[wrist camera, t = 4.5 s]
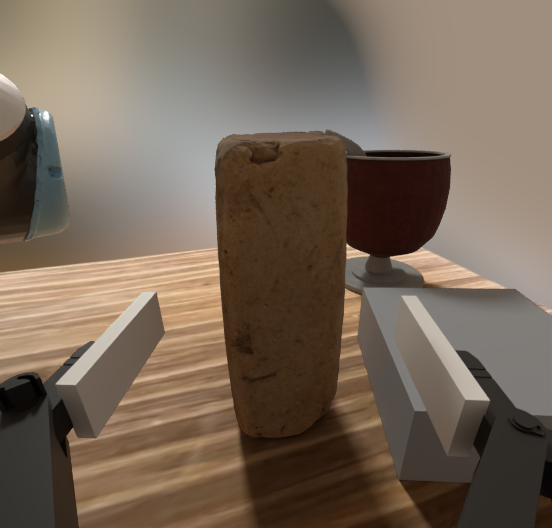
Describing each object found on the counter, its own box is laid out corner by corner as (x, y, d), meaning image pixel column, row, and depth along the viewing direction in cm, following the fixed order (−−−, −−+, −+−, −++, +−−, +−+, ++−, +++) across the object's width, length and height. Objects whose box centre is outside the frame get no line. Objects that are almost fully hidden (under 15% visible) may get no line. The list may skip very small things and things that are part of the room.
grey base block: (398, 479, 19) (414, 411, 16) (357, 338, 32) (362, 287, 29) (640, 491, 18) (695, 420, 16) (497, 341, 31) (515, 289, 28)
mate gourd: (403, 257, 51) (425, 126, 43) (450, 299, 38) (492, 125, 30) (312, 260, 51) (316, 129, 42) (328, 303, 38) (338, 129, 30)
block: (341, 440, 21) (371, 130, 13) (234, 457, 20) (195, 134, 12) (305, 342, 31) (310, 130, 23) (232, 351, 30) (210, 132, 22)
